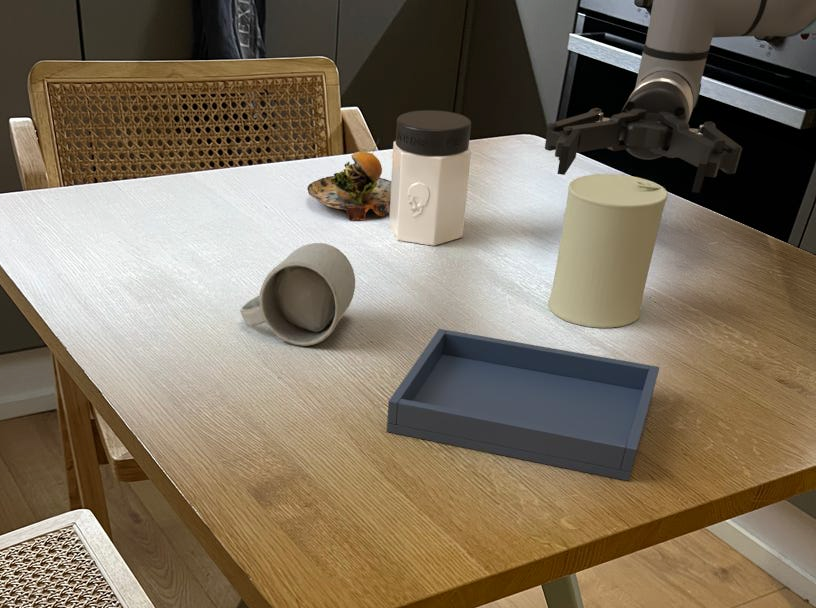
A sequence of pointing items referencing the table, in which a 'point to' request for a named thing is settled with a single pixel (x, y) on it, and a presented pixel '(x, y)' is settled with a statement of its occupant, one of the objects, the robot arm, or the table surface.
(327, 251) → the ceramic mug
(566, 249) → the can
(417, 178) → the jar
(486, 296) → the table surface
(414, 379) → the tray
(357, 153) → the burger
